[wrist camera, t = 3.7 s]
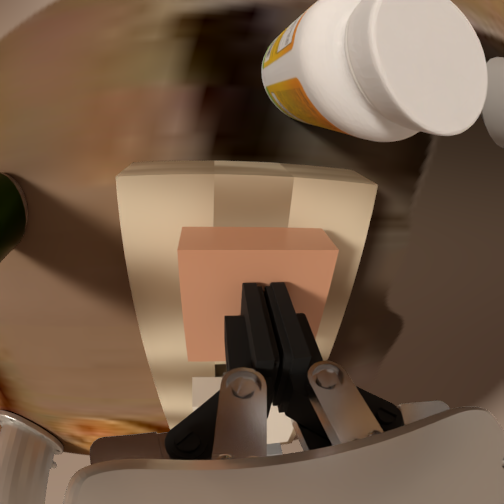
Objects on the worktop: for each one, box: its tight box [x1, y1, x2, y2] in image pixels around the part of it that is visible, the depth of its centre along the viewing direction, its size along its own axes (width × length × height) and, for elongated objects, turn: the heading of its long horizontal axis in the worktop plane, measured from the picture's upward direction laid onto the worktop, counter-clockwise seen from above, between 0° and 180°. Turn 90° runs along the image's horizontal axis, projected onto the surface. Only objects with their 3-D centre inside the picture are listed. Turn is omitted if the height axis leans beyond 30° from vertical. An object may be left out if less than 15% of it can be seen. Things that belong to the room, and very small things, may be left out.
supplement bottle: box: [262, 0, 488, 142], centre depth 8 cm, size 5×5×10 cm
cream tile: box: [192, 372, 294, 444], centre depth 17 cm, size 6×6×4 cm
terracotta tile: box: [177, 227, 339, 362], centre depth 13 cm, size 6×6×4 cm
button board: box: [116, 161, 378, 445], centre depth 20 cm, size 27×12×3 cm, turn 176°
